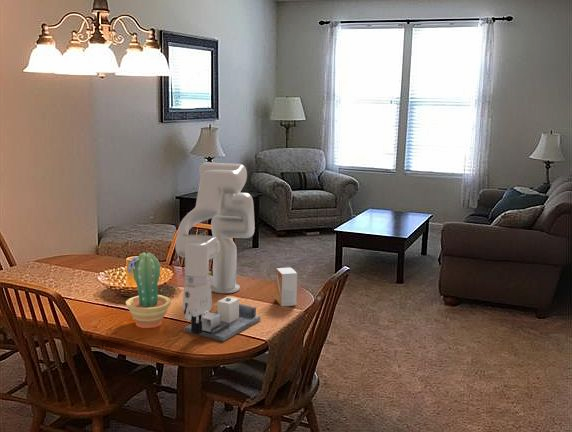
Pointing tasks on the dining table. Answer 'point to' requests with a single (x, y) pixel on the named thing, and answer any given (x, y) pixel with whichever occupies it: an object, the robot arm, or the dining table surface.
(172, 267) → the dining table surface
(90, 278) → the dining table surface
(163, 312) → the potted cactus
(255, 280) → the dining table surface
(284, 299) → the small box
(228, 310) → the block
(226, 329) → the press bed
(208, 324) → the block
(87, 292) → the dining table surface
